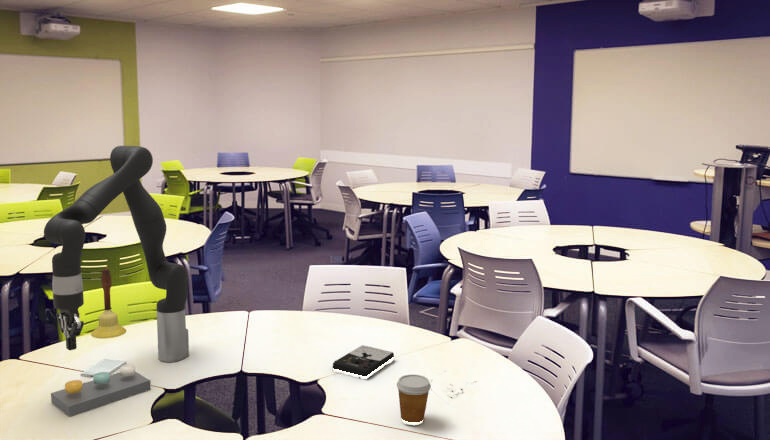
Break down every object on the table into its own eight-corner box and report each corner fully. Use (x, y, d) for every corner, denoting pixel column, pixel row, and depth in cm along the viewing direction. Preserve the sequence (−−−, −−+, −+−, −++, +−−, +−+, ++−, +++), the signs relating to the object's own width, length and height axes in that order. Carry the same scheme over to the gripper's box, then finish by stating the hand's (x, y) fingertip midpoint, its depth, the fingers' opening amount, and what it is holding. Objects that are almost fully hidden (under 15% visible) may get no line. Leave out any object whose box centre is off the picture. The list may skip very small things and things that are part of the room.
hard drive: (104, 358, 211) (80, 373, 198) (126, 360, 209) (103, 375, 197) (104, 363, 211) (80, 377, 199) (126, 365, 209) (103, 380, 197)
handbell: (93, 328, 241) (90, 265, 237) (127, 326, 245) (125, 264, 241) (88, 339, 230) (85, 273, 225) (124, 337, 233) (122, 272, 229)
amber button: (78, 385, 182) (78, 378, 182) (85, 389, 179) (84, 383, 179) (62, 389, 179) (62, 383, 178) (69, 394, 176) (68, 388, 175)
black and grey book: (332, 372, 208) (332, 358, 207) (362, 354, 225) (362, 340, 224) (365, 381, 202) (366, 367, 201) (394, 362, 218) (394, 348, 218)
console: (131, 377, 198) (130, 369, 198) (150, 389, 191) (150, 380, 190) (51, 402, 181) (50, 393, 180) (69, 416, 173) (68, 406, 172)
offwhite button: (131, 369, 194) (130, 363, 194) (138, 373, 191) (137, 367, 191) (117, 373, 191) (116, 367, 190) (124, 377, 188) (124, 371, 187)
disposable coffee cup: (427, 413, 181) (429, 373, 179) (430, 429, 172) (432, 388, 170) (394, 412, 181) (395, 373, 179) (396, 429, 171) (397, 388, 169)
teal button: (105, 377, 188) (105, 370, 188) (112, 381, 185) (112, 375, 185) (90, 381, 185) (90, 375, 184) (97, 386, 182) (97, 379, 181)
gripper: (92, 292, 172) (95, 351, 175) (71, 282, 181) (74, 339, 184) (64, 297, 167) (67, 359, 170) (43, 287, 175) (47, 346, 178)
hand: (71, 349), depth 177 cm, fingers closed
